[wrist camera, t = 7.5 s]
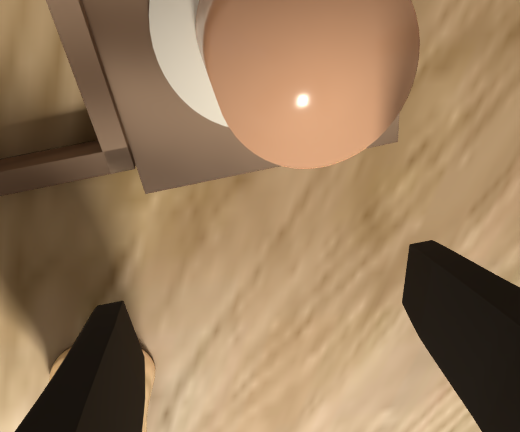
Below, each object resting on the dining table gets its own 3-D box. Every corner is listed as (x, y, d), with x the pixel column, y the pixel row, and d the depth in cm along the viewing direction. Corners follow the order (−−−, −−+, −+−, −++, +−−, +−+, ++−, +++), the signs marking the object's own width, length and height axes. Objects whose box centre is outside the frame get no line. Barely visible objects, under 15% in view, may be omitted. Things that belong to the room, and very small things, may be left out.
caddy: (-277, -111, 12) (-329, -120, 11) (402, -201, 14) (425, -217, 12) (-53, 224, 19) (-68, 243, 17) (388, 134, 20) (402, 145, 19)
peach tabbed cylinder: (207, 105, 17) (229, 183, 11) (169, -115, 13) (171, -180, 7) (326, 86, 17) (409, 151, 11) (323, -131, 13) (445, -203, 7)
